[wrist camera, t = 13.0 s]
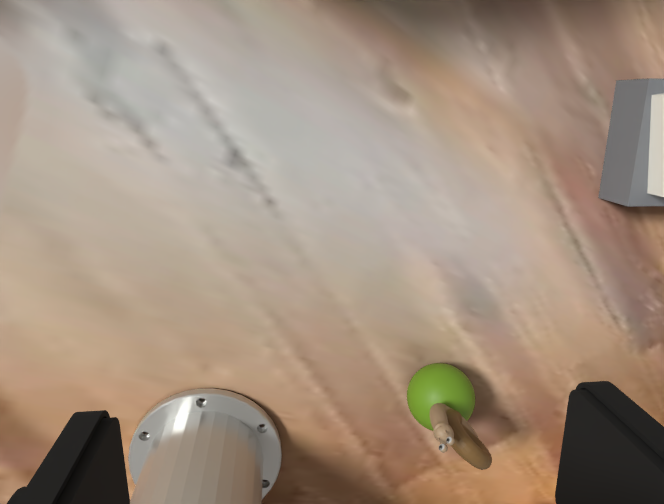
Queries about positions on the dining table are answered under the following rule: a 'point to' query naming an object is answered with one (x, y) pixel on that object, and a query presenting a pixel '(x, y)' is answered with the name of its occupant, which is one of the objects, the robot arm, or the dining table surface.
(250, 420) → the robot arm
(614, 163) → the tower base
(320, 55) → the dining table surface
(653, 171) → the tower block
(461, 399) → the snail figurine
